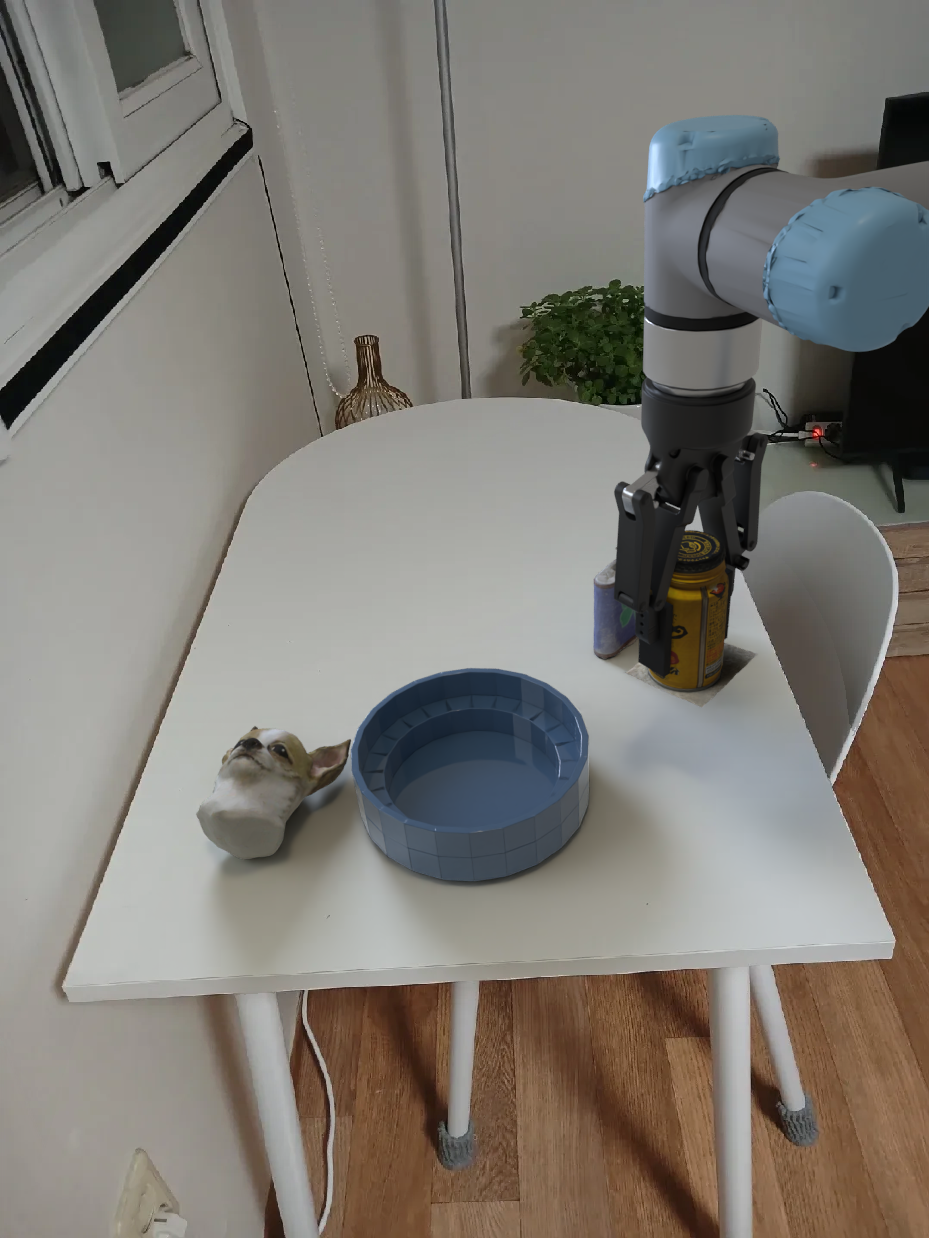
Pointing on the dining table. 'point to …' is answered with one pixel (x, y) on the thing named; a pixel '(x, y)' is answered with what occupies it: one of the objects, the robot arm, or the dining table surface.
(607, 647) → the flask
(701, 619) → the condiment
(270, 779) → the ceramic sculpture
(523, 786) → the basin
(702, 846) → the dining table surface
